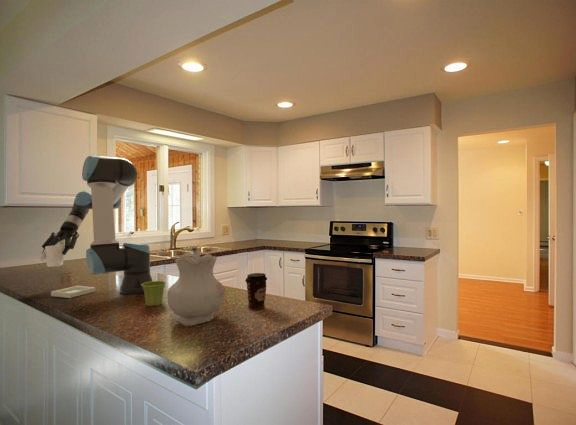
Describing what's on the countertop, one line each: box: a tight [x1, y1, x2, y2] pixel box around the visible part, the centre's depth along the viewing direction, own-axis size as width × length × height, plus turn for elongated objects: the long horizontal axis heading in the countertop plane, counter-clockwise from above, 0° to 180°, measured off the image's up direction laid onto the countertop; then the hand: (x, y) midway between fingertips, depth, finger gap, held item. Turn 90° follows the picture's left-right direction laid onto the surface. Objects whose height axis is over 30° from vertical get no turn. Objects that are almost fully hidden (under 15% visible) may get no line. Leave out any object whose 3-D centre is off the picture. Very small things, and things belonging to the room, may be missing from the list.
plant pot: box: [141, 280, 167, 307], centre depth 136 cm, size 9×9×9 cm
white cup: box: [45, 244, 65, 268], centre depth 167 cm, size 8×8×10 cm
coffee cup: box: [244, 272, 268, 311], centre depth 128 cm, size 9×8×13 cm
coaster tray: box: [50, 285, 96, 299], centre depth 157 cm, size 13×13×2 cm
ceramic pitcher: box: [166, 246, 226, 327], centre depth 117 cm, size 22×20×25 cm
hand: (50, 259), depth 164 cm, fingers closed on white cup, 8 cm apart
